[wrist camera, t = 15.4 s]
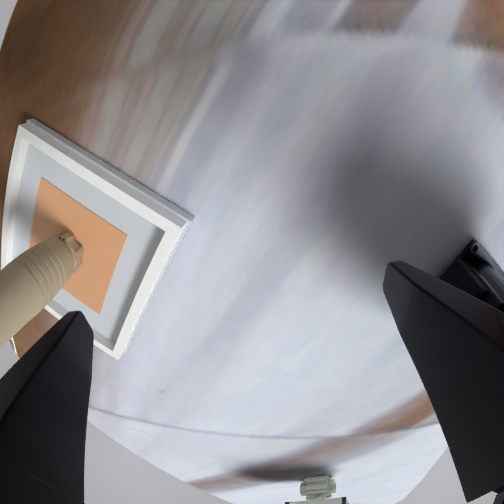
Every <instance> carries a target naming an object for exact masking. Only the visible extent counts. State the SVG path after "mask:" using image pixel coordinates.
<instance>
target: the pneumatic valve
mask: <svg viewBox="0 0 504 504" xmlns="http://www.w3.org/2000/svg"><path fill="white" fill-rule="evenodd" d="M329 479H330V476H328V475H322V476H313V477H307V478H305V479H304V481H305V482H302V483H301V485H300V493H301V495H302V496H306V498H307V501H301V502H285V504H349V502H348V501H347V498H346V497H341V498H334V499H327V498H330V497H332V494H331V493H335V492H336V481H335V479H331V480H329Z"/></svg>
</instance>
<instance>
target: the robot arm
mask: <svg viewBox="0 0 504 504" xmlns="http://www.w3.org/2000/svg"><path fill="white" fill-rule="evenodd" d="M475 245H476V247H475V248H474V249H473V247H474V246H475ZM383 291H384V294H385V297H386V299H387V302H388V304H389V307H390V309H391V312H392V315H393V317H394V320H395V323H396V325H397V328H398V330H399V333H400V335H401V337H402V339H403V342H404V344H405V346H406V348H407V350H408V352H409V354H410V356H411V358H412V360H413V363H414V365H415V367H416V369H417V371H418V373H419V376H420V378H421V380H422V382H423V385H424V387H425V389H426V391H427V394H428V396H429V398H430V401H431V403H432V406H433V408H434V410H435V413H436V415H437V418H438V420H439V423H440V425H441V428H442V431H443V433H444V436H445V438H446V441H447V444H448V447H449V448H450V449H449V450H450V453H451V455H452V458H453V461H454V464H455V467H456V470H457V473H458V476H459V479H460V482H461V486H462V489H463V492H464V496H465V499H466V501H467V503H468V502H470V501H473V500H475V499H477V498H479V497H481V496H483V495H485V494H487V493H489V492H491V491H493V492H496V493H498V494H497V495H496V498H495V500H494V503H493V504H504V273H503V271H502V270H501V269H500V268H499V266H498V265H497V264H496V263H495V261H494V260H493V259H492V258H491V256H490V255H489V254H488V253H487V251H486V250H485V249H484V248H483V247H482V245H481V244H480V243H479V242H478V241H476V240H472V241H471V242H470V243H469V244H468V245H467V247H466V248H465V249H464V250H463V251H462V253H461V254H460V255H459V256H458V258H457V259H456V260H455V261H454V262H453V263H452V265H451V266H450V267H449V268H448V269H447V270H446V272H445V273H444V274H443V275H442V276H441V277H440V278H439V279H438V278H436V277H434V276H432V275H430V274H428V273H426V272H424V271H422V270H420V269H418V268H415V267H413V266H411V265H409V264H407V263H405V262H403V261H400V260H399V261H394V262H389V263H388V264H387V266H386V271H385V277H384V282H383ZM93 343H94V333H93V330H92V328H91V326H90V325H89V323H88V321H87V319H86V318H85V316H84V314H83V313H82V312H81V311H79V310H77V311H69V312H68V313H66V314H65V315H64V316H63V317H62V318H61V319H60V320H59V321H58V322H57V323H56V324H55V325H54V326H53V327H52V328H50V329H49V330H48V331H47V332H46V333H45V334H44V335H43V336H42V337H41V338H40V339H39V340H38V341H37V342H36V343H35V344H34V345H33V346H32V347H31V348H30V349H29V350H28V351H27V352H26V353H25V354H24V355H23V356H22V357H21V358H20V359H19V360H18V361H17V362H16V363H15V364H14V365H13V366H12V368H11V369H9V371H8V372H7V373H6V374H5V375H4V376H3V377H2V378H1V379H0V504H84V460H85V440H86V426H87V415H88V405H89V397H90V389H91V379H92V359H93Z"/></svg>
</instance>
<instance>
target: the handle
mask: <svg viewBox="0 0 504 504" xmlns="http://www.w3.org/2000/svg"><path fill="white" fill-rule="evenodd" d="M82 254H83V248H82V246H80V245H79V244H78V243H77V241H76V240H75V238H74V235H72V234H71V233H69V232H66V233H64V234H62V235H61V234H56V235H53V236H52V237H50V238H48V239H47V240H45V241H42V242H40V243H38V244H36V245H34V246H33V247H31V248H29V249H28V250H26V251H24V252H23V253H22V254H20V255H19V256H17V257H16V258H15V259H13V260H12V261H11V262H10V263H8V264H7V265H6V266H5V267H4V268H3V269H2V270H1V271H0V349H1V348H2V347H3V346H4V345H5V343H7V342H8V341H9V340H10V339H11V338H12V337H13V336H14V335H15V334H16V333H17V332H18V331H19V330H20V329H21V328H22V327H23V326H24V325H25V324H27V323H28V322H29V321H30V320H31V319H32V318H33V317H34V316H35V315H36V314H38V313H39V312H40V311H41V310H42V309H43V308H44V307H45V306H46V305H47V304H48V303H49V302H50V301H51V300H52V299H53V298H54V297H55V296H56V294H57V293H58V292H59V291H60V290H61V289H62V287H63V286H64V285H65V283H66V282H67V281H68V279H69V278H70V276H71V275H72V273H75V272H76V271H77V269H78V268H79V267H80V265H81V264H82V258H81V256H82Z"/></svg>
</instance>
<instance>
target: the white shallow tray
mask: <svg viewBox="0 0 504 504" xmlns="http://www.w3.org/2000/svg"><path fill="white" fill-rule="evenodd" d="M193 219H194V216H192V215H191V214H189V213H187V212H186V211H184V210H182V209H181V208H179V207H177V206H176V205H174V204H173V203H171V202H169V201H168V200H166V199H164V198H163V197H161V196H160V195H158V194H156V193H155V192H153V191H151V190H150V189H148V188H146V187H145V186H143V185H142V184H140V183H138V182H137V181H135V180H133V179H132V178H130V177H128V176H127V175H125V174H124V173H122V172H120V171H119V170H117V169H115V168H114V167H112V166H110V165H109V164H107V163H106V162H104V161H102V160H101V159H99V158H97V157H96V156H94V155H93V154H91V153H89V152H88V151H86V150H84V149H83V148H81V147H79V146H78V145H76V144H75V143H73V142H71V141H70V140H68V139H66V138H65V137H63V136H61V135H60V134H58V133H57V132H55V131H53V130H52V129H50V128H48V127H47V126H45V125H43V124H42V123H40V122H39V121H37V120H35V119H34V118H33V119H28V120H27V121H26V123H25V124H20V125H19V126H18V130H17V135H16V139H15V143H14V148H13V153H12V158H11V163H10V168H9V174H8V181H7V188H6V195H5V204H4V214H3V227H2V246H1V270H2V269H3V268H4V267H5V266H6V265H7V264H8V263H10V262H11V261H12V260H13V259H15V258H16V257H17V256H19V255H20V254H22V253H23V252H24V251H26V250H28V249H29V248H31V247H33V246H34V245H36V244H38V243H40V242H42V241H45V240H47V239H48V238H50V237H52V236H53V235H56V234H61V235H62V234H64V233H66V232H69V233H71V234H72V235H74V238H75V240H76V241H77V243H78V244H79V245H80V246H82V248H83V254H82V256H81V258H82V264H81V265H80V267H79V268H78V269H77V271H76V272H75V273H72V275H71V276H70V278H69V279H68V281H67V282H66V283H65V285H64V286H63V287H62V289H61V290H60V291H59V292H58V293H57V294H56V296H55V297H54V298H53V299H52V300H51V301H50V302H49V303H48V304H47V305H46V306H45V307H44V308H45V309H46V310H47V311H49V312H50V313H51V314H52V315H54V316H55V317H56V318H58V319H59V320H60V319H61V318H62V317H63V316H64V315H65V314H66V313H68V312H69V311H77V310H79V311H81V312H82V313H83V314H84V316H85V318H86V319H87V321H88V323H89V325H90V326H91V328H92V330H93V333H94V343H93V344H94V345H95V346H97V347H99V348H100V349H102V350H103V351H105V352H106V353H108V354H109V355H111V356H112V357H114V358H116V359H117V360H119V358H120V357H121V355H122V354H123V355H125V353H126V351H127V349H128V347H129V345H130V343H131V341H132V339H133V336H134V334H135V332H136V330H137V328H138V326H139V324H140V322H141V319H142V317H143V315H144V313H145V311H146V309H147V307H148V305H149V303H150V301H151V299H152V297H153V295H154V293H155V291H156V289H157V287H158V285H159V283H160V281H161V279H162V277H163V275H164V273H165V271H166V269H167V267H168V265H169V264H170V262H171V260H172V258H173V256H174V254H175V252H176V250H177V248H178V246H179V245H180V243H181V241H182V239H183V237H184V235H185V234H186V232H187V230H188V228H189V226H190V224H191V223H192V221H193Z"/></svg>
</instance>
